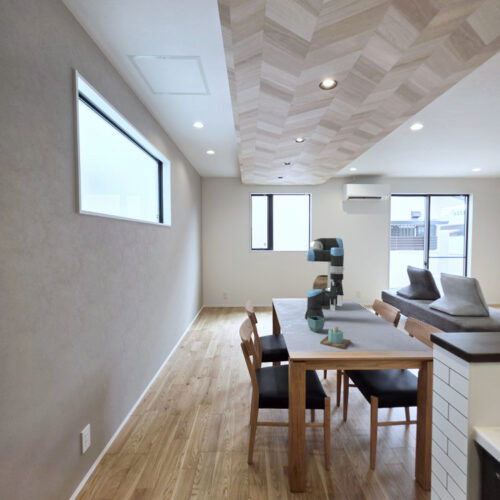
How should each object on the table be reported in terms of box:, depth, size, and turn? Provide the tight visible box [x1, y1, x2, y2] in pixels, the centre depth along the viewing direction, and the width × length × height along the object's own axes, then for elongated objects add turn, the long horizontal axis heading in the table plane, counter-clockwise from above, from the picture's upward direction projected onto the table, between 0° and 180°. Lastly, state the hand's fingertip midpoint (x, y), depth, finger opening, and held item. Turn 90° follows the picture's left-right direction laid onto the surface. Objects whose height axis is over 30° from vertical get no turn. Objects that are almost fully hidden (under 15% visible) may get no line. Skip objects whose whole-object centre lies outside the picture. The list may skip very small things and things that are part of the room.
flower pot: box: [306, 316, 326, 333], centre depth 186 cm, size 9×9×9 cm
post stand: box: [320, 326, 351, 350], centre depth 164 cm, size 14×14×9 cm
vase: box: [312, 274, 330, 310], centre depth 251 cm, size 26×26×30 cm
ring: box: [327, 328, 344, 344], centre depth 164 cm, size 8×8×6 cm
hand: (336, 307), depth 164 cm, fingers open, 13 cm apart
